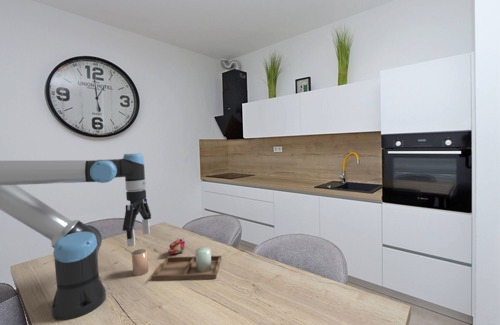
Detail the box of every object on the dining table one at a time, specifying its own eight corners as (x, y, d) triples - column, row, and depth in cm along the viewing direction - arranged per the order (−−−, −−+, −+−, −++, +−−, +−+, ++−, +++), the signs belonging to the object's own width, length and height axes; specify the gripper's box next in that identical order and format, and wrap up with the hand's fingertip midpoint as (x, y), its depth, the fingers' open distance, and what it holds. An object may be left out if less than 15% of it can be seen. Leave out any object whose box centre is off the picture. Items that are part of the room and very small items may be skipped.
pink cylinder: (144, 275, 100) (143, 254, 100) (130, 276, 100) (129, 255, 100) (150, 268, 106) (149, 248, 106) (137, 269, 106) (135, 249, 106)
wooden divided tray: (216, 280, 95) (215, 274, 94) (152, 282, 95) (151, 276, 95) (221, 260, 111) (221, 255, 111) (167, 262, 112) (166, 257, 112)
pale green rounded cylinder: (210, 272, 100) (209, 253, 99) (194, 272, 100) (193, 253, 99) (212, 264, 106) (211, 247, 106) (198, 265, 106) (197, 247, 106)
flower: (192, 247, 124) (184, 234, 125) (186, 251, 115) (177, 237, 116) (177, 258, 124) (169, 245, 125) (169, 263, 114) (160, 249, 116)
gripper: (129, 195, 89) (133, 251, 90) (156, 185, 114) (159, 229, 115) (109, 196, 89) (113, 252, 90) (140, 185, 114) (143, 230, 115)
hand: (139, 239), depth 103 cm, fingers open, 13 cm apart
